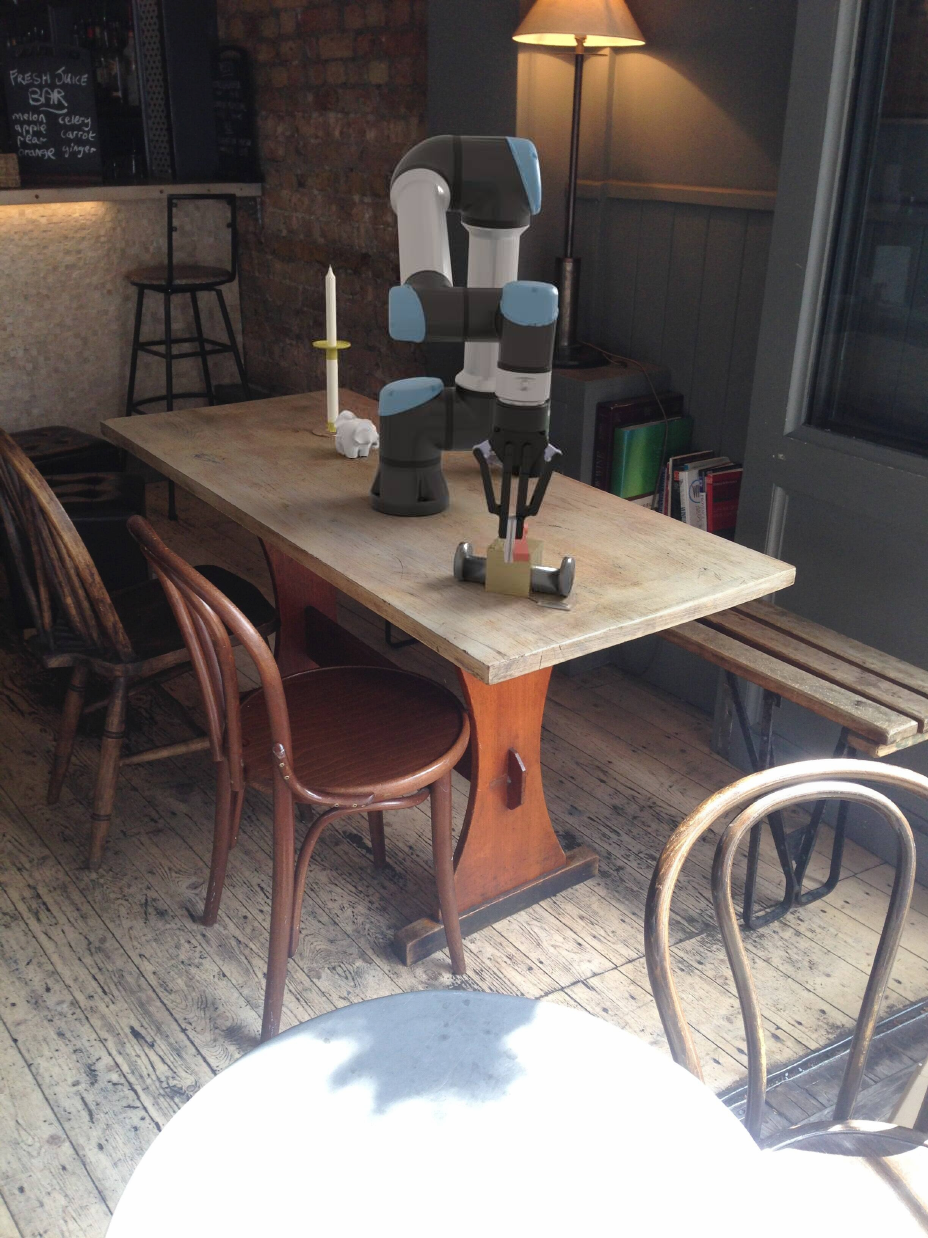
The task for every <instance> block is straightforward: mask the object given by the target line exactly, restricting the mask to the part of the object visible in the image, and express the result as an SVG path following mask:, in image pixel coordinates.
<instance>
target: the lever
mask: <svg viewBox="0 0 928 1238" xmlns="http://www.w3.org/2000/svg"><path fill="white" fill-rule="evenodd" d="M528 533H529V524H528V523H527V522H525V521H524V529H523V537H522V539H521V540H518V539H515V544H514V548H513V560H514V561H523V562H529V549H528V544H527V539H526V538H527V536H526V535H528Z"/></svg>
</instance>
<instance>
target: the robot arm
mask: <svg viewBox="0 0 928 1238" xmlns="http://www.w3.org/2000/svg"><path fill="white" fill-rule="evenodd" d="M538 157H539V156H538V152H537V149H536V146H535V144H534V143H533V142H532V141H531V140H529V139H527V138H521V137H514V136H507V135H504V136H503V135H497V136H496V135H494V136H493V135H452V134H443V135H437V136H432V137H430V138H427V139H425V140H422V141H421V142H420V143H418V144H417V145H415V146H413V148H411V149H410V150H409V151H408V152H407V153H406V154H405V155H404V156H403V157H402V158H401V160H400V161H399V163H398V164H397V166H396V167H395V169H394V172H393V173H392V176H391V181H390V186H389V198H390V205H391V208H392V210H393V212H394V214H395V215H396V216H397V231H398V234H397V235H398V252H399V253H398V255H399V271H400V272H399V273H400V285H397V286H395V285H394V286H393V287H391V288H390V289H389V293H388V331H389V332H388V333H389V336H390V337H391V338H392V339H393V340H396V341H403V342H404V341H408V342H414V343H430V342H431V343H435V342H436V343H437V342H439V343H441V342H442V343H447V342H448V343H450V342H451V343H455V342H456V343H459V342H462V343H464V358H463V362H464V363H463V369H462V370H461V371H460V372H458V374H456V376H455V378H454V379H455V380H454V386H452V387H451V386H449V387H447V386H446V387H445V385H444V383H443V381H442V379H440V378H439V377H438V378H437V377H427V376H422V377H421V376H420V377H411V378H405V379H400V380H399V379H398V380H396V381H393V382H390V383H387V384H386V385H385V386H384V387H383V388H382V389H381V390H380V392H379V397H378V398H379V402H378V403H379V404H378V410H377V415H378V417H379V418H378V419H379V421H378V422H379V423H378V425H379V427H378V428H379V429H378V435H379V447H378V466H377V469H376V472H375V475H374V478H373V480H372V481H373V482H372V484H371V488H370V491H369V505H370V507H371V508H373V509H374V510H376V511H378V512H381V513H385V514H387V515H388V514H389V515H394V516H403V517H407V516H408V517H412V516H413V517H414V516H416V517H418V516H427V515H433V514H437V513H441V512H443V511H445V510H447V508H450V507H449V506H450V496H451V495H450V491H449V487H448V483H447V481H446V477H445V475H444V471H443V467H442V452H472V455H473V456H474V458H475V460H476V462H477V463H478V465H479V469H480V475H481V480H482V485H483V491H484V496H485V500H486V505H487V511H488V513H489V514H491V515H493V514H494V515H496V516H497V517H498V518H499V519H498V532H497V533H498V536H499V538H500V539H505V549H504V560H505V562H508V563H513V548H514V544H515V539H518V540H521V539H522V537H523V529H524V522H525V520H526V518H528V517H535V516H537V515H538V513H539V510H540V508H541V505H542V503H543V500H544V497H545V494H546V492H547V489H548V487H549V484H550V480H551V478H552V475H553V473H554V471H555V468H556V467H557V466H558V465H559V464H560V462H561V461H562V460H563V454H562V451H561V449H559V448H555V446H553V445H552V444H550V441H549V436H548V437H547V435H546V428H547V417H548V404H547V402H546V401H545V400H547V399H548V398H549V394H550V382H552V372H553V371H552V370H553V357H554V349H555V345H554V344H555V337H556V330H557V329H556V327H557V319H558V316H559V307H558V305H559V304H558V303H559V291H558V288H557V287H556V286H554V285H553V284H552V283H546V282H543V281H542V282H541V281H534V280H518V268H519V255H520V254H519V253H520V237H521V235H522V234H523V233H524V232H525V231H526V230H527V229H528V228H529V227H530V222H531V221H530V220H531V215H532V216H534V215H537V214H539V213H540V210H541V205H542V203H541V202H542V180H541V170H540V162H539V158H538ZM446 212H451V213H452V212H454V213H456V212H457V213H461V215H460V217H461V218H460V223H461V224H462V225H463V227H464V228H465V230H467V232H468V234H469V236H468V237H469V239H468V241H469V243H468V245H469V246H468V259H467V260H468V263H467V266H468V267H467V285H466V286H454V285H453V275H452V265H451V263H452V262H451V255H450V245H449V234H448V226H447V225H448V223H447V213H446ZM544 451H545V455H544V458H545V462H544V465H543V468H542V470H541V473H540V476H539V477H538V479H537V481H536V484H535V488H534V490H533V493H532V495H531V498H530V501H529V504H527V501H528V491H529V480H530V478H529V474H530V465H532V464H533V463H534V462H535V461H536V460H537V459H538V457H539V456H540V455H541V454H542V453H543V452H544ZM491 453H494V454H495V456H496V457H497V459H498V461H500V463H501V464H502V469H501V471H502V472H501V486H500V487H501V488H500V502H499V503H497V502H496V496H495V492H494V486H493V482H492V475H491V471H490V464H489V460H488V458H490V455H491ZM515 465H518V466H520V472H519V476H518V484H517V486H518V487H517V496H516V505H515V513H510V505H511V504H510V503H511V502H510V501H511V489H512V475H513V474H512V466H515Z"/></svg>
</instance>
